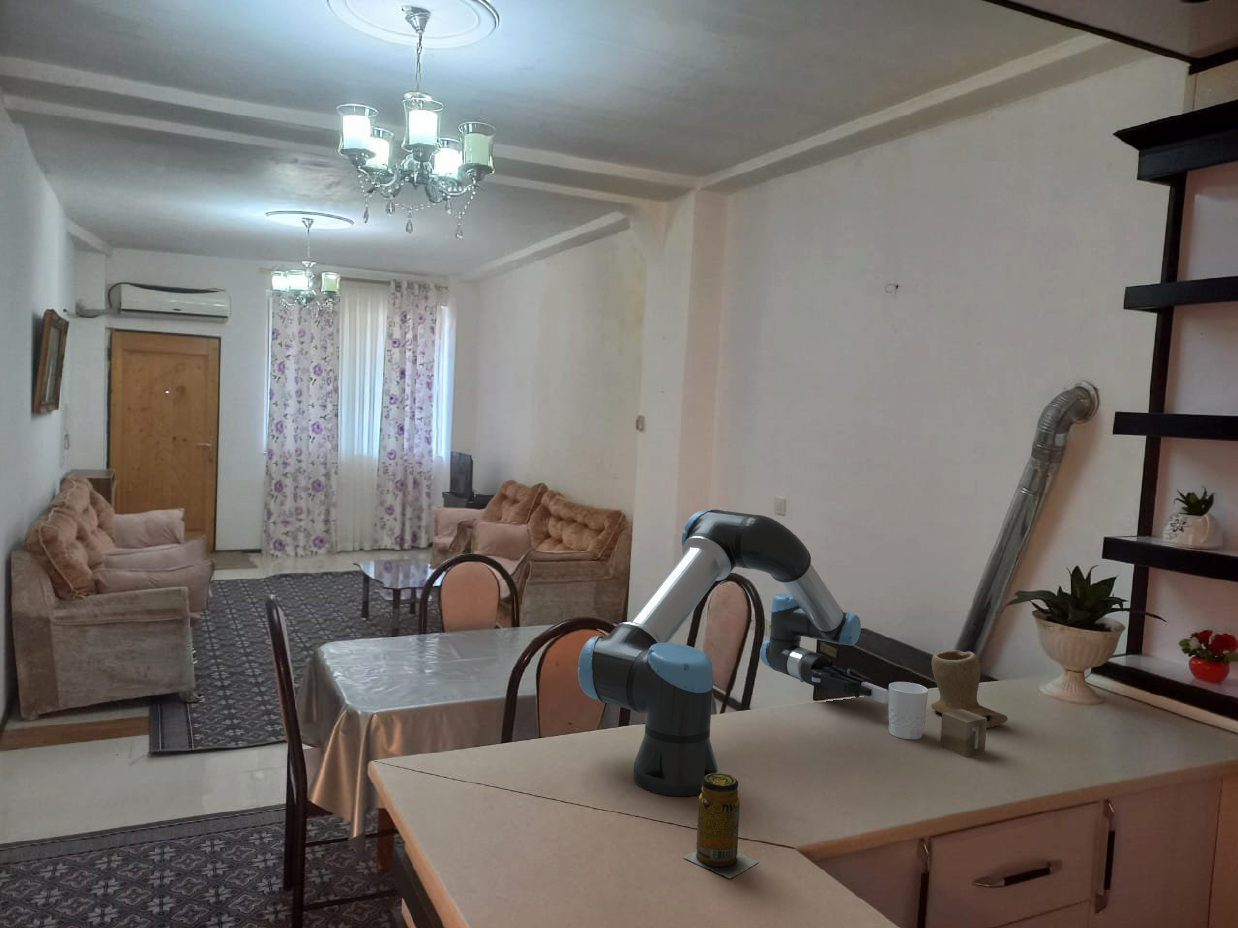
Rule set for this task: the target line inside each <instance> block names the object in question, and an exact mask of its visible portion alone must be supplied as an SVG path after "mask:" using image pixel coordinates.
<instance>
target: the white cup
mask: <svg viewBox="0 0 1238 928" xmlns="http://www.w3.org/2000/svg"><path fill="white" fill-rule="evenodd" d="M928 694H929V689H928V688H927V687H925V686H923V685H921V684H918V683H914V682H907V681H894V682H890V683H889V684H888V703H887V704H888V706H887V707H888V732H889V733H890V735H891V736H894V737H896V738H898V739H902V740H903V739H904V740H919V739H921V738H923V735H924V734H923V733H924V725H925V719H926V714H927V704H928V696H929V695H928Z"/></svg>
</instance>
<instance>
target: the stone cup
mask: <svg viewBox="0 0 1238 928" xmlns="http://www.w3.org/2000/svg"><path fill="white" fill-rule="evenodd" d="M931 670H932V674H933V677H934V680H935V682H936V686H937V688H938V691H939V699H938V700H937V701H934V702H932V703H931V704H930V707H931V709H932V710H933V711H935V712H938V713H939V714H942V713H945V712H950V711H955V710H960V709H963V710H966V711H969V712H971V713H974V714H977V715H979V716H982V717H985V718H987V727H986V729H987V728H993V727H997V726H1000V725H1002V724H1004V723H1006V722H1007V721H1008V719H1009V718H1008V716H1007V714H1006V715H1005V714H1003V713H1001V712H998V711H995V710H992V709H990V708H988V707H985V706H983V705H981V704H979V702H978V691H979V687H980V680H981V662H980V659H979V658H978V656H977V655H976V653H974V652H972V651H965V652H964V651H961V650H958V649H948V650H943V651H939V652H936V653H935V654H933V656H932V657H931Z"/></svg>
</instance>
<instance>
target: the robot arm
mask: <svg viewBox="0 0 1238 928" xmlns="http://www.w3.org/2000/svg"><path fill="white" fill-rule="evenodd" d="M683 529H684V532H682V535H681V547H682V556H681V558H680V559H679V560H678V561H677V563H675V565H674V566H673V567H672V568H671V570H670V571H669V572H668V574H666V576H665V578H663V580H662V581H661V582H660V584H659V585H658V586H657V587H656V589H655V590H654V591H653V592H652V593H651V595H650V596H649V597H648V599H646V600H645V603H643V605H642V606H641V607H640V608H639V610H637V612H636V613H635V614H634V616H633V617H632V619H631V620H630V621H628V622H627V621H626V622H620V623H618V624H617V625H616V626H615V627H614V628H613V629H612V630H611V632H610V633H609V634H608V635H607V636H606V637H605V636H603V635H597V636H595V635H594V636H592V637H590V638H589V639H588V640H587V641H586V642H585V643H584V645H583V646H582V648H581V651H580V654H579V658H578V662H577V663H578V665H577V677H578V678H577V679H578V683H579V686H580V688H581V690H582V691H583V693H584V694H585V695H586V696H588V697H589V698H591V699H594V700H596V701H599V703H602V704H610V705H613V706H617V707H620V708H624V709H627V710H630V711H633V712H637V713H639V714H644V715H645V720H644V721H645V724H644V725H645V726H644V736H643V738H642V741H641V743H640V747H639V748H638V752H637V755H636V757H635V760H634V762H633V773H632V775H633V780H634V781H635V783H636V784H637V785H638V786H640V787H641V788H643V789H645V790H647V791H650V792H653V793H656V794H660V795H663V796H664V795H665V796H671V797H672V796H673V797H690V796H698V795H699V796H700V794H701V793H702V781H703V778H704V777H705V776H706V775H708V774H712V773H719V768H718V764H717V761H716V757H715V753H714V750H713V746H712V742H711V719H712V702H713V688H714V684H715V683H714V678H713V662H712V661H711V659H710V658H709V655H707V654H706V653H705V652H703V651H701V650H700V649H698V648H696V647H693V646H690V645H687V644H681V643H674V642H671V641H672V639H673V638H674V637H675V635H676V634H677V633H678V631H680V628H681V627H682V626H683V625H684V623H685V622H686V621H687V620H688V619H689V617H690V616H691V615H692V613H693V611H694V610H695V609H696V607H697V606H698V605H699V603H700V602H701V601H702V600H703V598H704V597H705V596H706V594H707V593H708V591H709V590H710V589H711V587H712V586H713V585H714V584H715V582H716V581H718V582H719V581H723V580H725V579H726V578H727V577H728V576H729V575H730V574H731V572H732V571H733V570H734V568H742V569H748V570H757V571H761V572H764V573H766V574H769V575H770V577H772V578H773V579H774V580H775V581H777V582H779V583H782V584H783V585H784V587H785V588H786V590H787V591H788V592H787V593H784V592H783V593H782V592H781V593H776V594H775V595H774V596H773V598H772V601H771V602H772V603H771V610H770V632H769V633H770V634H769V635H770V636H769V638H767V639H765V640H764V642H762V646H761V647H760V650H759V656H760V659H761V662H762V663H763V664H764V665H765V666H766V667H768V668H770V669H772V670H773V671H776V672H778V673H782V674H784V675H787V676H789V677H792V678H794V679H797V680H798V681H800V683H806V684H809V685H811V686H814V687H816V688H821V687H823V688H827V689H829V690H833V691H836V692H840V693H843V694H846V695H852V694H854V698H860V696H861V695H862V696H863V697H866V698H868V699H871V700H873V701H875V702H879V703H880V704H888V703H889V689H886V688H883V687H881V686H879V685H875V684H874V683H873V679H871V677H868V676H866V675H864V674H862V673H860V672H858V671H857V670H855V668H853V667H849V668H848V669H847V670H845V669H842V668H841V667H839V666H838V665H835V664H833V662H832V660H831V658H829V657H828V656H825V655H823V654H820V653H818V652H815V651H813V650H810V649H808V648H805V647H802V646H801V640H802V637H804V638H810V639H813V640H818V641H822V642H829V643H832V644H836V645H837V644H838V645H845V646H854V645H856V644H857V642H858V641H859V637H860V635H861V630H862V623H861V619H860V617H859V616H858V615H857V614H853V613H851V612H845V611H843V609H842V608H841V606H840V605H839V604H838V602H837V600H836V599H835V597H834V596H833V594H832V593H831V592H830V590H829V588H828V587H827V585H826V584H825V582H824V580H822V578H821V576H820V575H819V574H818V572H817V571H816V569H815V566H813V564H812V556H811V553H810V552H809V550H808V548H807V546H806V545H805V544H804V542H803V541H802V540H801V539H800V538H799V537H798V536H797V535H796V534H795V533H794V532H793V531H791V530H790V529H788V528H787V527H786V526H785V525H783V524H782V523H781V522H779V521H777V520H775V519H773V518H771V517H769V516H766V515H761V514H751V513H744V512H743V513H742V512H737V511H728V510H722V509H721V510H720V509H716V508H715V509H713V508H712V509H700V510H698V511H696V512H695V513H693V514H692V515H691V516H690V517H689V519H688V520H687V522H686V524H685V526H684V528H683Z"/></svg>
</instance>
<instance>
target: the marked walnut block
mask: <svg viewBox="0 0 1238 928" xmlns="http://www.w3.org/2000/svg"><path fill="white" fill-rule="evenodd" d="M986 727H987V718H985V717H982V716H979V715H977V714H974V713H971V712H969V711H966V710H963V709H960V710H955V711H950V712H945V713H941V726H940V729H941V730H940V743H939V745H940V746H941V747H940V748H943V749H946V750H948V751H951V752H952V753H954V754H957V755H959V756H962V757H963V758H966V757H970V756H974V755H978V754H979V755H980V754H983V753H984V754H985V752H986V742H987V741H986V739H987V728H986Z"/></svg>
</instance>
